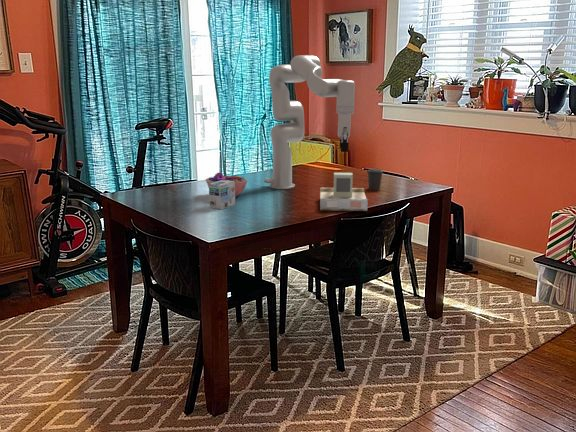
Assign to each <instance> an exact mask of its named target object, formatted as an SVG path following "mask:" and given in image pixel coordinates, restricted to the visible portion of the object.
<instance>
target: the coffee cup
mask: <svg viewBox="0 0 576 432" xmlns="http://www.w3.org/2000/svg"><path fill="white" fill-rule="evenodd" d="M366 172H367V179H368V190H370V191H379V189H380V190H381V185H382V178H383V177H382V176H383V173H384V171H383V169H378V168H370V169H368V170H366Z"/></svg>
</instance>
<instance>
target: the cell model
mask: <svg viewBox="0 0 576 432" xmlns="http://www.w3.org/2000/svg"><path fill="white" fill-rule="evenodd" d="M223 174H224V173H222V172H221V171H219V172H217V173H215V174H214V175H213V176H210V177H207V178H206V179H205V182H206V184H207V188H208V189H209V183H213V182H217V181H220V180H229V181H235V197H237V196H238V195H240V194H242V192H244V190H245V188H246V186H247V182H248V179H246V178H244V177H242V176H237V175H223Z"/></svg>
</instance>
